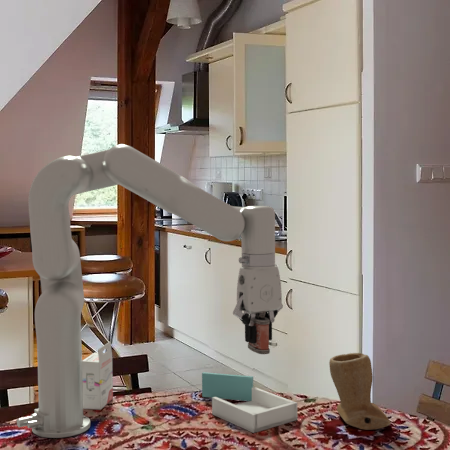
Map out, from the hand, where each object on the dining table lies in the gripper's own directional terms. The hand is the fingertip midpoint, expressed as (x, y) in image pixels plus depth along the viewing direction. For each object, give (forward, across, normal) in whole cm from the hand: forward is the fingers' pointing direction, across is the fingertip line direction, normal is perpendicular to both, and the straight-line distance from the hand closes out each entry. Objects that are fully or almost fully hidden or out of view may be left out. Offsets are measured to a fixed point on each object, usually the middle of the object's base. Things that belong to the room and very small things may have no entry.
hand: (258, 340), depth 157 cm
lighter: (+2, 0, 0) cm, 2 cm away
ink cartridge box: (+18, -24, +33) cm, 45 cm away
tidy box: (+18, 0, +2) cm, 18 cm away
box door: (+18, +3, +15) cm, 24 cm away
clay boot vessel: (+19, +17, -14) cm, 29 cm away
